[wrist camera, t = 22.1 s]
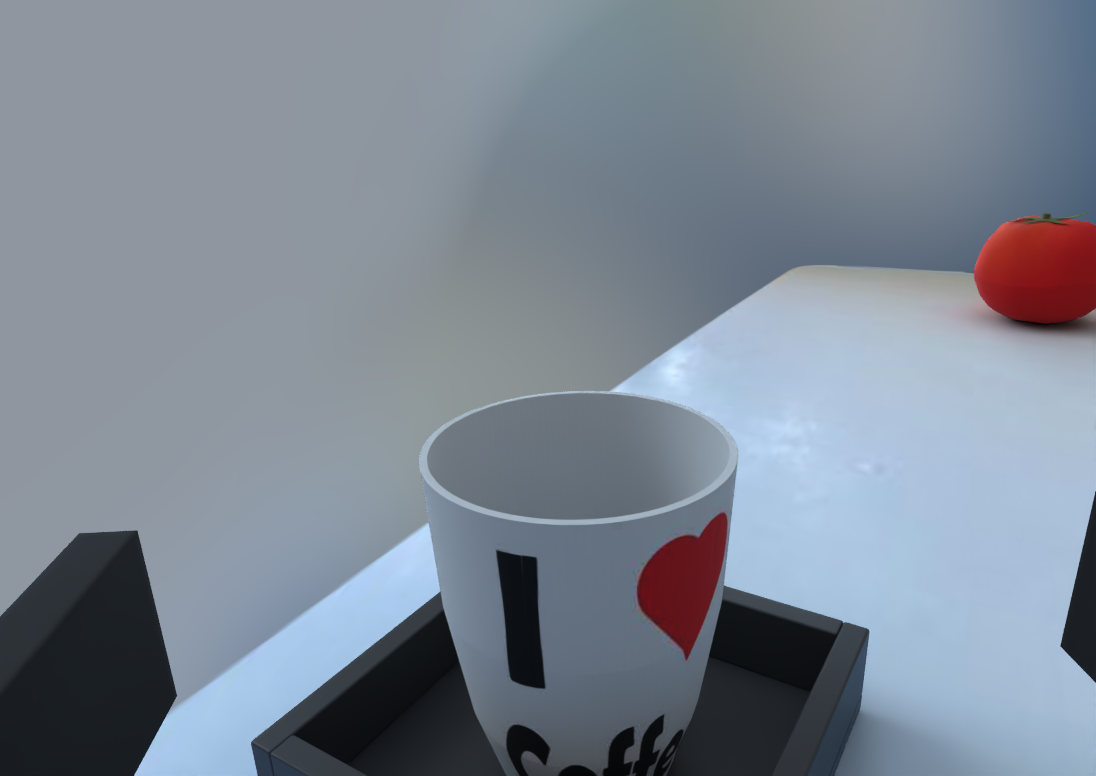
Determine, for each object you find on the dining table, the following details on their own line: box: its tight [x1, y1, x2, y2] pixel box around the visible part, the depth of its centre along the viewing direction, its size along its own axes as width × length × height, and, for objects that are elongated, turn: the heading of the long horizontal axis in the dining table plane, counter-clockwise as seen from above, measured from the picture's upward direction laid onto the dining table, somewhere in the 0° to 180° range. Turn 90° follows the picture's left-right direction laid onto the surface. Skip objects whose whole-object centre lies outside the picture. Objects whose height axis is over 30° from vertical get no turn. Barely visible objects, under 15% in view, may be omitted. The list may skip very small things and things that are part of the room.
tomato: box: [974, 213, 1096, 324], centre depth 65 cm, size 9×10×8 cm
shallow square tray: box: [251, 586, 869, 776], centre depth 24 cm, size 13×13×3 cm
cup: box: [419, 391, 738, 776], centre depth 23 cm, size 8×8×10 cm
